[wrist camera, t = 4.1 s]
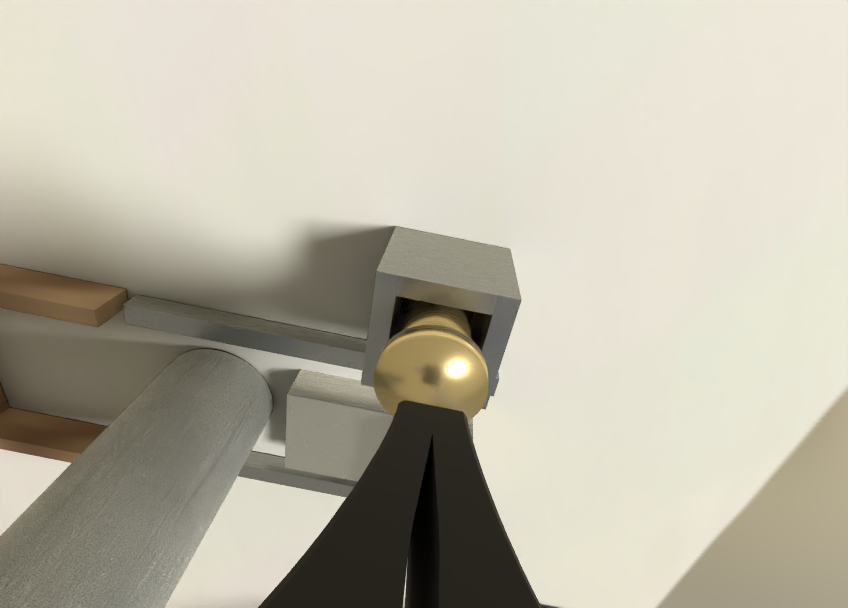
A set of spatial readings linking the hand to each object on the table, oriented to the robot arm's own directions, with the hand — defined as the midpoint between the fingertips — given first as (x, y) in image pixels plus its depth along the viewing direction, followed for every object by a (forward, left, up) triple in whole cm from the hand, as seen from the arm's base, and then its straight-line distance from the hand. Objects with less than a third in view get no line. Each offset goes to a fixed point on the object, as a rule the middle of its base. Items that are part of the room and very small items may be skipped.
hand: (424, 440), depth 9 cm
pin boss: (0, 0, -7) cm, 7 cm away
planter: (+8, +7, -7) cm, 13 cm away
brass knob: (0, 0, -6) cm, 6 cm away
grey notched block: (+1, +7, -7) cm, 10 cm away
